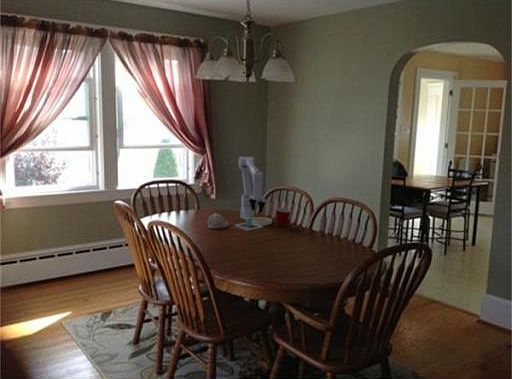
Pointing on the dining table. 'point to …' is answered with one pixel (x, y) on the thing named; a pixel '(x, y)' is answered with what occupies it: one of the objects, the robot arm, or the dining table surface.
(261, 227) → the tray
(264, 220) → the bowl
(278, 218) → the plastic cup
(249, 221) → the cylinder
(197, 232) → the dining table surface
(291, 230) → the dining table surface
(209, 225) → the seashell
